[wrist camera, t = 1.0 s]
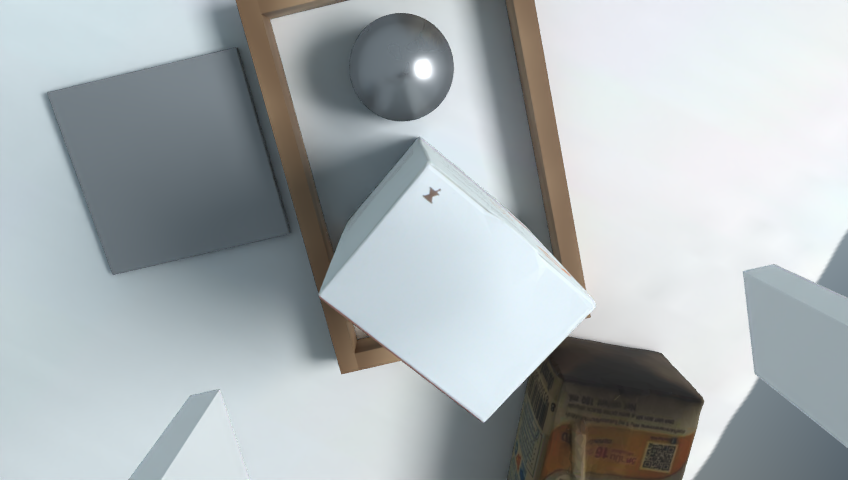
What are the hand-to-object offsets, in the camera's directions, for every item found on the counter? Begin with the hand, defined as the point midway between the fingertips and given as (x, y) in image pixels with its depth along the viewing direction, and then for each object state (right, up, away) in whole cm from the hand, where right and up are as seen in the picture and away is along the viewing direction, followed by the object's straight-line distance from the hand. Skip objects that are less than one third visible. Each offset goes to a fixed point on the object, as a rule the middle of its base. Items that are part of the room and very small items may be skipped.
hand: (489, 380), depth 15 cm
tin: (-3, +12, +17) cm, 21 cm away
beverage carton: (+7, -11, +23) cm, 27 cm away
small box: (-1, +4, +19) cm, 20 cm away
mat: (-15, +7, +18) cm, 24 cm away
